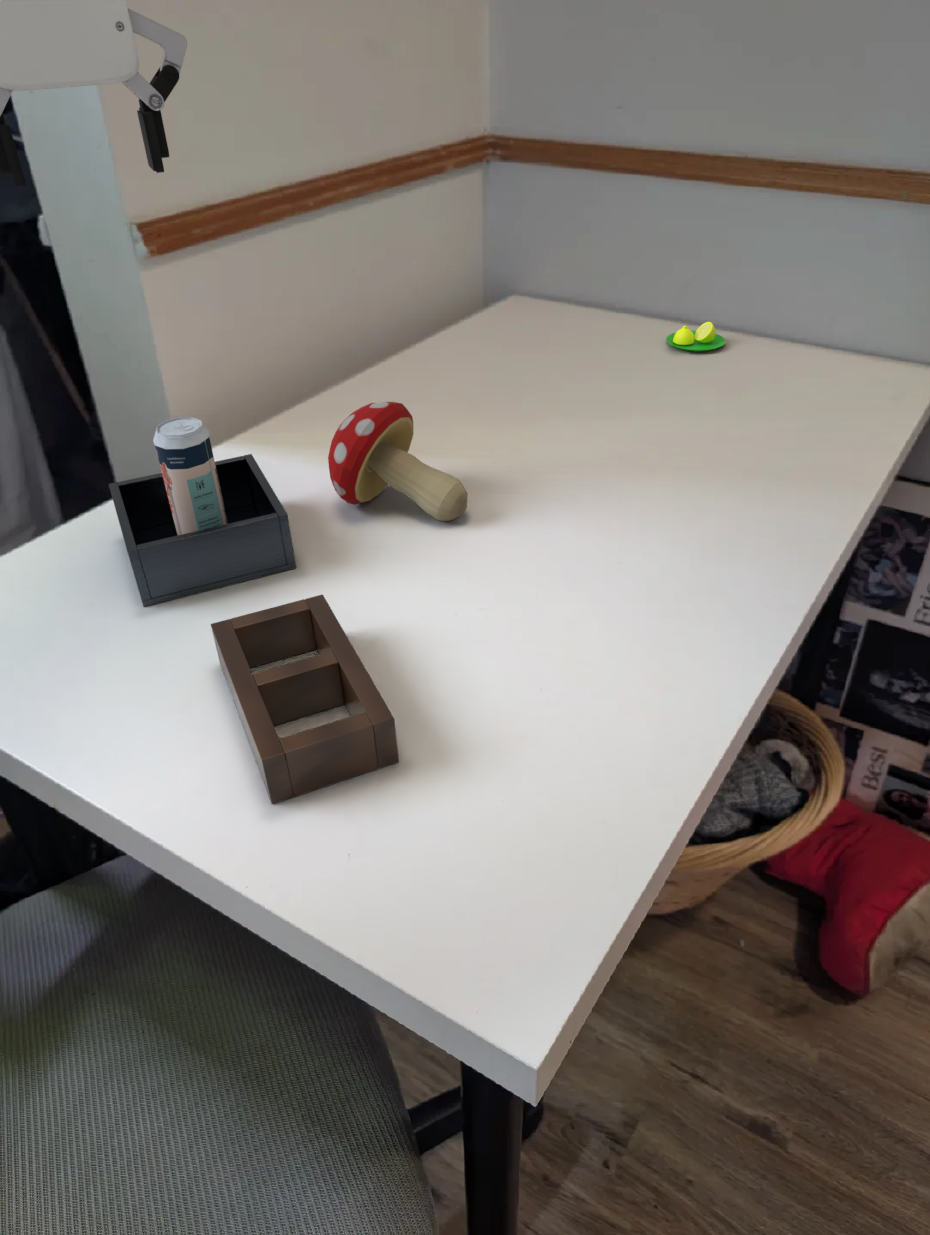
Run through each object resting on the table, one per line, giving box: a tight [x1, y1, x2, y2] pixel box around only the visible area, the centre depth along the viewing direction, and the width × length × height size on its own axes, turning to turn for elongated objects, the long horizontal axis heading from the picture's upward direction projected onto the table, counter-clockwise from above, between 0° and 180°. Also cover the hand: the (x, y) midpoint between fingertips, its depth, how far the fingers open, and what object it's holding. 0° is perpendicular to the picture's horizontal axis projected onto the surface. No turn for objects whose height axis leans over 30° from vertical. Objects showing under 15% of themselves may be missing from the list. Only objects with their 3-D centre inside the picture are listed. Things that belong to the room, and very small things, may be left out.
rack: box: [210, 594, 400, 805], centre depth 66 cm, size 9×16×4 cm, turn 24°
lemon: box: [665, 321, 726, 353], centre depth 126 cm, size 8×8×3 cm
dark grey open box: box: [108, 453, 297, 607], centre depth 85 cm, size 14×14×6 cm
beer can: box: [152, 416, 228, 535], centre depth 83 cm, size 5×5×12 cm
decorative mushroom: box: [327, 401, 468, 522], centre depth 90 cm, size 11×11×15 cm
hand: (90, 177), depth 68 cm, fingers open, 9 cm apart
